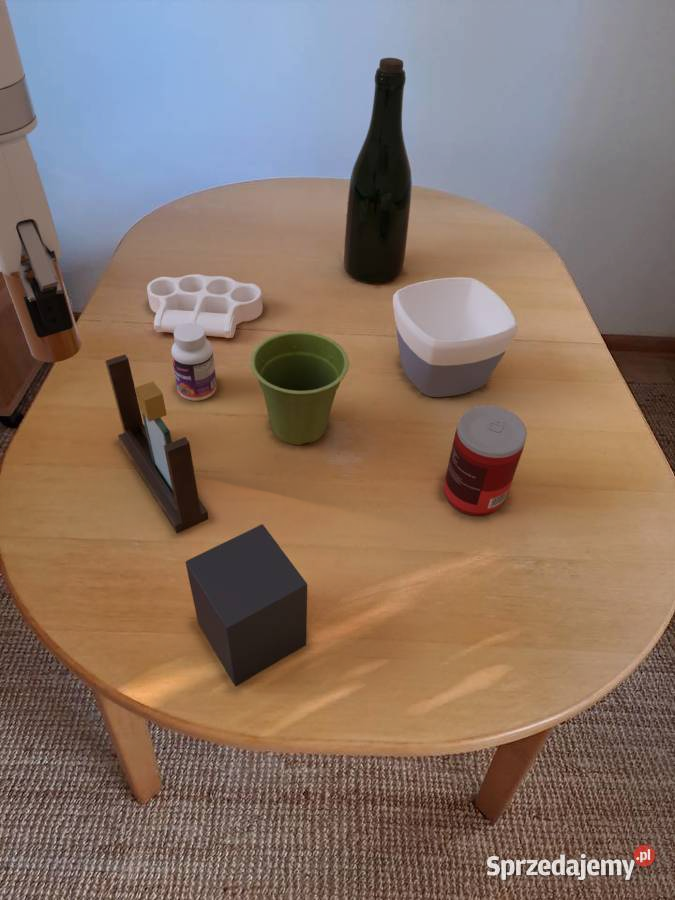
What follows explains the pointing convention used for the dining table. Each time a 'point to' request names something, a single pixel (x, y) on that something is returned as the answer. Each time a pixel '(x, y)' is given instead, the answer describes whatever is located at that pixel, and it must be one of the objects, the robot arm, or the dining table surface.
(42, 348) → the orange-brown cylinder
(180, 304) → the white compartment tray
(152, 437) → the pane
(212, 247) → the dining table surface
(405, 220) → the wine bottle
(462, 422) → the canned food
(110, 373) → the window frame
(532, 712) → the dining table surface
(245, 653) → the stand
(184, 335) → the pill bottle
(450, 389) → the bowl
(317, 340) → the plant pot
